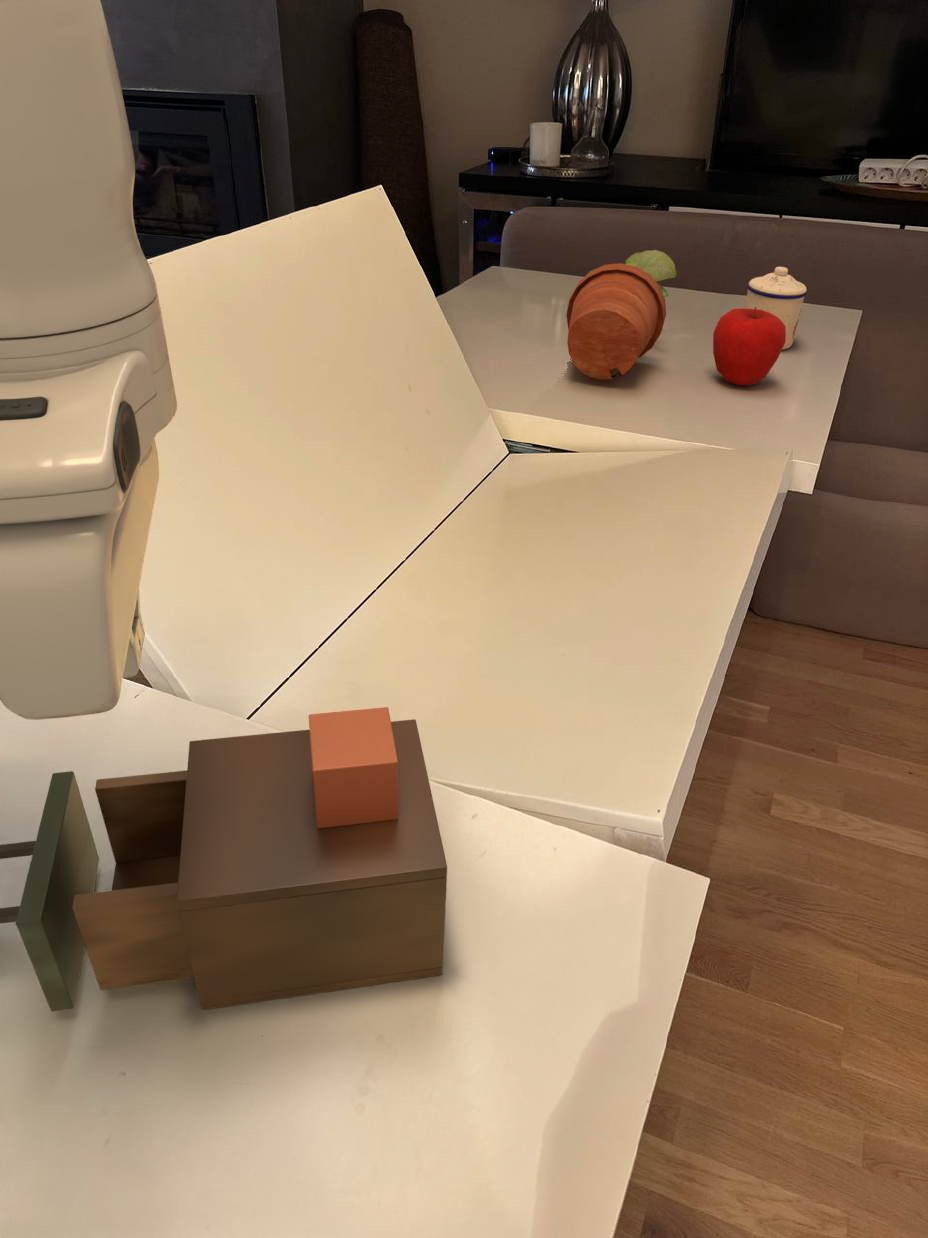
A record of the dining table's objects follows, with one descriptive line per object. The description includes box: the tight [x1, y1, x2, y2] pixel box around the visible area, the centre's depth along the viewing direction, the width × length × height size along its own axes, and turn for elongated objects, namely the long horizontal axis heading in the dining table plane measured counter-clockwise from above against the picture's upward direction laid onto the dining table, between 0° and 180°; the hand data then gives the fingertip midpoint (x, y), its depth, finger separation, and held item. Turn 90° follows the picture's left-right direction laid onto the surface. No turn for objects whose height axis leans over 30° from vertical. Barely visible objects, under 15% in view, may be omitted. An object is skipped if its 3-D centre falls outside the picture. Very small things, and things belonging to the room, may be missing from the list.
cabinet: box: [177, 718, 448, 1010], centre depth 53 cm, size 14×12×10 cm
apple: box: [712, 307, 786, 387], centre depth 130 cm, size 10×10×11 cm
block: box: [308, 706, 398, 828], centre depth 50 cm, size 4×4×4 cm
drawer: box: [0, 769, 194, 1013], centre depth 52 cm, size 17×10×8 cm, turn 101°
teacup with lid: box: [743, 266, 808, 351], centre depth 146 cm, size 12×9×12 cm
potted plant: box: [565, 249, 677, 380], centre depth 138 cm, size 16×15×35 cm
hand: (124, 659), depth 43 cm, fingers closed
